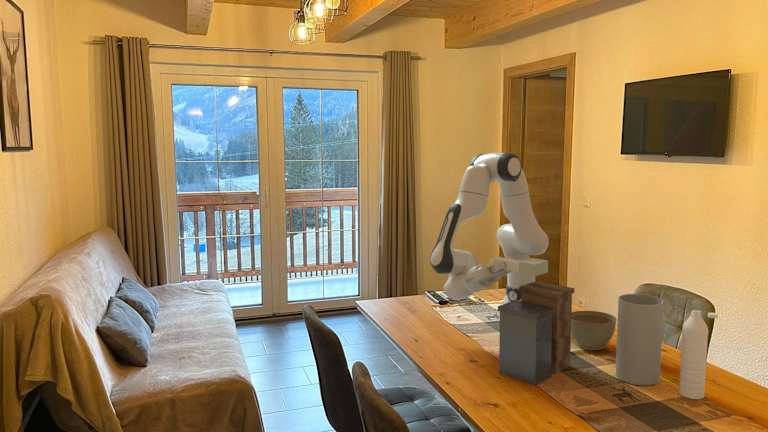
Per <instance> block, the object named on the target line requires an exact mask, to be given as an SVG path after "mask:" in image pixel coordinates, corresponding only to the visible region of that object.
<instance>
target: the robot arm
mask: <svg viewBox="0 0 768 432" xmlns="http://www.w3.org/2000/svg"><path fill="white" fill-rule="evenodd" d="M492 182H498V184H499V193H500V200H501V201H500V202H501V207H502V212H503V215H504V217H505V218H506V219H507V220H508V221H509V222H510V223H505V224H502V225H500V226H499V228H498V229H497V231H496V240H497V242H498V244H499V245H500V247H501V249H502V252H503V255H504V258H509V259H515V260H521V261H523V260H527V259H530V256H539V255H542V254H544V253H545V252H546V251H547V249H548V247H549V242H550V241H549V240H550V239H549V236H548V235H547V233H546V232H545V231H544V230H543V229H542V228H541V226H540V224H539V222H538V220H537V218H536V217H535V214H534V212H533V207H532V202H531V198H530V197H531V196H530V190H529V185H528V181H527V177H526V174H525V172H524V169H523V167H522V161H521V160H520V157H518V156H517V155H516V154H515V153H512V152H491V153H480V154H477V155H475V156H474V157H473V158H472V159H471V161H470V163H469V165H468V167H467V168H466V169H465V171H464V173H463V176H462V179H461V181H460V185H459V190H458V195H457V197H456V200H455V201H454V203H453V204H452V205H450V206H449V208H448V209H447V212H446V214H445V217H444V220H443V223H442V224H441V225H442V226H441V229H440V232H439V235H438V237H437V241H436V243H435V245H434V248H433V249H432V251H431V253H430V256H429V264H430V266H431V268H432V270H433V271H434V272H435V273H436V274H439V275H441V274H442V275H448V278H447V280H446V282H445V283H444V285H443V290H444V292H445V295H447V296H448V298H449V299H451V300H454V301H460V300H463V299H466V298H469V297H471V296H472V295H474V294H475V293H479V292H482V291H484V290H485V289H486V290H487V289H488V288H490V287H491V286H492V285H493V284H495V283H497V282H499V281H501V279H502V278H503V277H506V279H507V282H506V283H507V284H506V285H505V294H506V295H504V298H503V304H506V303H508V302H511V301H514V300H519V301H521V291H519V287H520V286H523V285H526V284H529V283H532V282H535V281H536V277H534V276H528V275H523V274H519V272H516V271H510V270H504V269H503V268H505V267H507V265H506V263H505V262H503V263H500V264H498V265H495V266H494V265H490V264H481V263H479V264H477V259H476V256H475V255H474V253H472V251H468V250H464V249H458V248H454V247H453V244H454V241H455V238H456V235H457V232H458V229H459V226H460V225H461V224H462V223H463V222H465V221H468V220H471V219H475V218H478V217H480V215H482V214H483V213H484V212H485V211H486V207H487V205H488V198H489V195H490V194H489V193H490V187H491V184H492Z"/></svg>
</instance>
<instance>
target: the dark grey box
mask: <svg viewBox="0 0 768 432" xmlns="http://www.w3.org/2000/svg"><path fill="white" fill-rule="evenodd" d="M497 312H499V348H498V349H499V352H498V353H499V354H498V355H499V357H498V358H499V361H498V365H499V367H498V368H499V369H498V374H500V375H502V376H506V377H508V378H512V379H515V380H517V381H520V382H523V383H527V384H530V385H532V386H537V385H539V384H541V383H542V382H545V381H546V380H547V379H549V378H551V377H552V373H551V349H552V314H554V313H555V308H550V307H546V306H541V305H537V304H532V303H528V302H523V301H519V300H514V301H511V302H508V303H506V304H504V303H503V304H501V305H498V306H497Z"/></svg>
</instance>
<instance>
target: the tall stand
mask: <svg viewBox="0 0 768 432" xmlns="http://www.w3.org/2000/svg"><path fill="white" fill-rule="evenodd" d="M519 291H521V301H523V302H528V303H532V304H537V305H541V306H546V307H550V308H555V313H554V314H552V349H551V374H555V375H556V374H558V373H560V372H562V371H564V370H566V369H567V368H569V367H570V366H571V345H572V344H571V343H572V333H571V313H572V312H573V311H572V308H573V307H572V306H573V294H574V293H575V287H569V286H564V285H559V284H553V283H548V282H543V281H538V280H537V281H536V280H535V282H532V283H529V284H526V285H523V286H520V287H519Z"/></svg>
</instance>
